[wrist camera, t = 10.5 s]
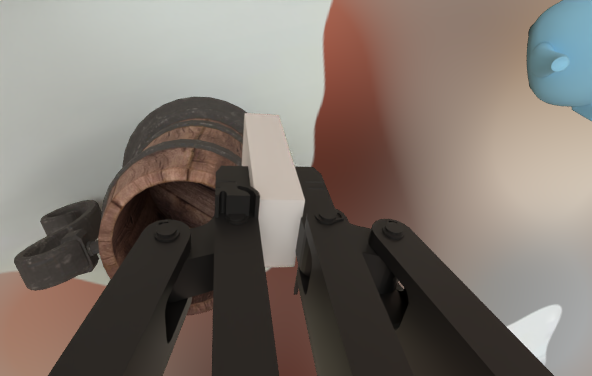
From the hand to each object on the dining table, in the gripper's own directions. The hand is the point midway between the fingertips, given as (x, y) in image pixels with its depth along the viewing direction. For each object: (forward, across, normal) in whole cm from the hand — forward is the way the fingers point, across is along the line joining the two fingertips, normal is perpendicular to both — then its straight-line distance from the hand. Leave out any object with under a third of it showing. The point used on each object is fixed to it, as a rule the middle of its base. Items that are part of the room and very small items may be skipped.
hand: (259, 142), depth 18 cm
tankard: (+23, -6, -17) cm, 29 cm away
